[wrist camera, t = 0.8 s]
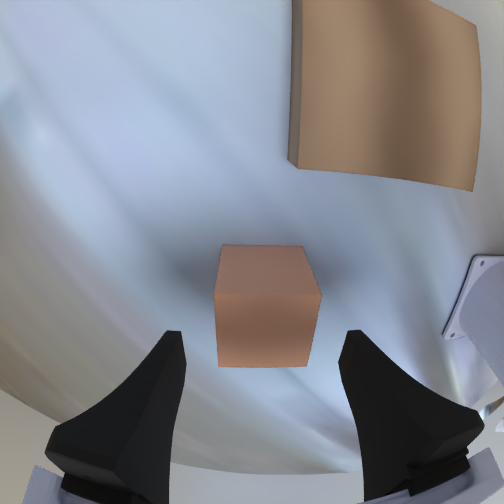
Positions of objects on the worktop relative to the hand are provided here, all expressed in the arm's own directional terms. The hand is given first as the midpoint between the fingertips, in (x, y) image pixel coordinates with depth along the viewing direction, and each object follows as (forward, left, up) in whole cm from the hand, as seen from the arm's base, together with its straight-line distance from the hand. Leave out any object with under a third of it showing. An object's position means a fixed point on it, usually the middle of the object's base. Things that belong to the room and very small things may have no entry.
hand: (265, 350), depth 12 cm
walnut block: (-6, -12, -6) cm, 15 cm away
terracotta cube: (0, 0, -6) cm, 6 cm away
